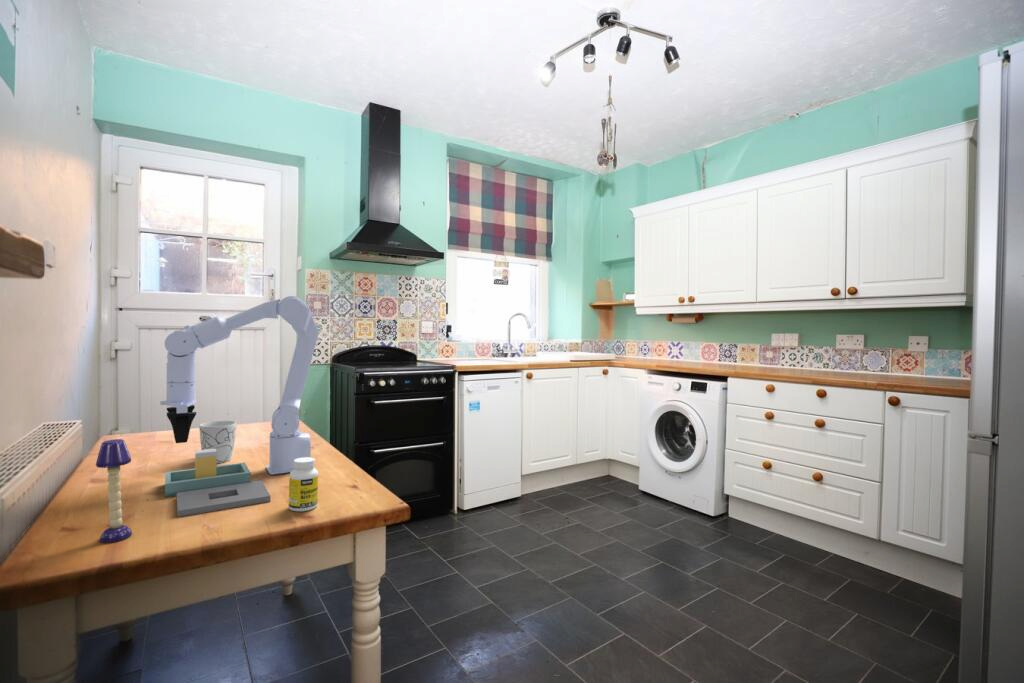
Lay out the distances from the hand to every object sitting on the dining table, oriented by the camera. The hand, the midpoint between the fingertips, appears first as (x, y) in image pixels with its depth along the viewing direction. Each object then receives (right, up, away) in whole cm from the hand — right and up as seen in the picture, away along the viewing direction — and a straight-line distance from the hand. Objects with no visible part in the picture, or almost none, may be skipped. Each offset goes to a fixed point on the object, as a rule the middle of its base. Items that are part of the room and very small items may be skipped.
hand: (181, 439), depth 115 cm
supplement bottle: (+36, -11, -16) cm, 41 cm away
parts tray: (+8, -10, -3) cm, 13 cm away
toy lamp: (+10, -11, -32) cm, 35 cm away
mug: (-2, -9, +17) cm, 20 cm away
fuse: (+8, -9, -4) cm, 13 cm away
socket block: (+18, -10, -13) cm, 24 cm away
